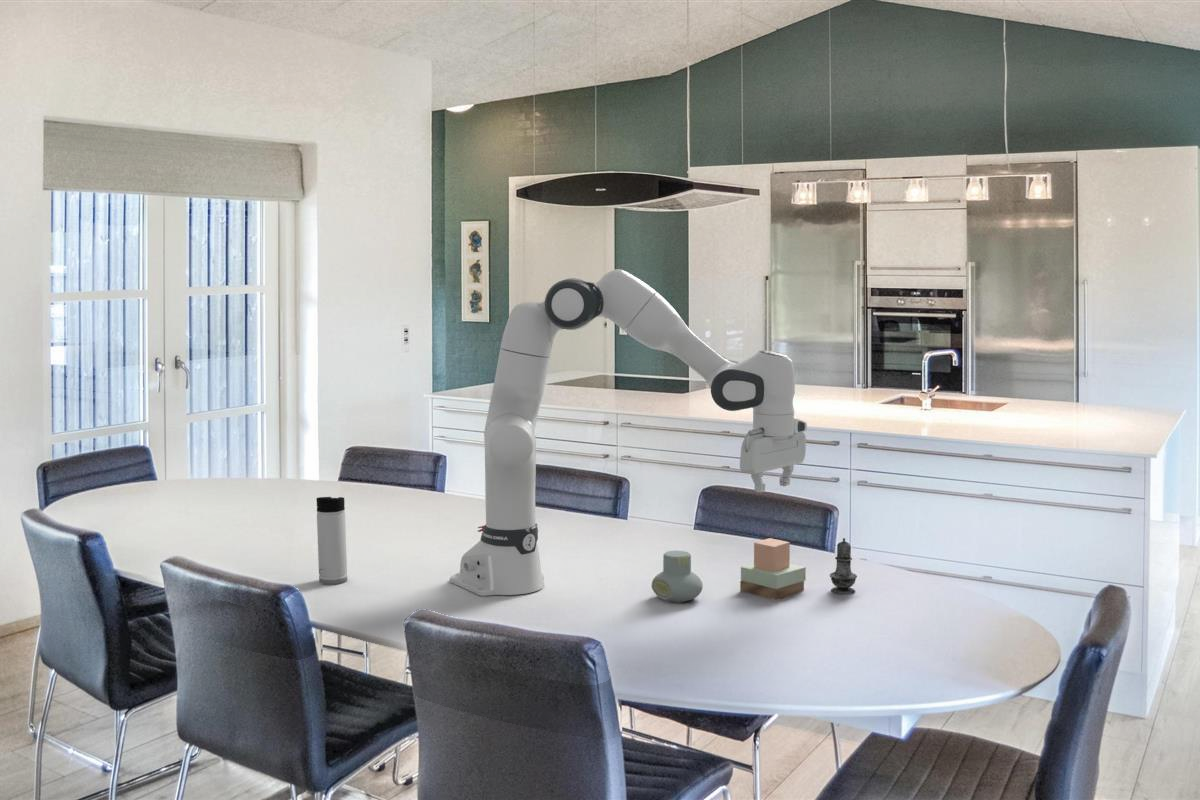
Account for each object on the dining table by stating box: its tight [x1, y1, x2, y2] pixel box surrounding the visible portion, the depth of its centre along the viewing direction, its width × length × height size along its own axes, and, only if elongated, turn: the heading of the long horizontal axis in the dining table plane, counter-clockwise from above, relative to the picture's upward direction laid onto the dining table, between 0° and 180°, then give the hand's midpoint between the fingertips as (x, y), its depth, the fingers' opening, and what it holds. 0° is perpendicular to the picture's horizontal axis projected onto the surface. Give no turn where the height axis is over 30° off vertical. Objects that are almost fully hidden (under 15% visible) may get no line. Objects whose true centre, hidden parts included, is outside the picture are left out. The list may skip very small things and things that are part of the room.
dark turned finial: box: [829, 537, 858, 596], centre depth 253 cm, size 6×6×12 cm
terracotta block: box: [753, 537, 791, 572], centre depth 253 cm, size 6×6×6 cm
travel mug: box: [316, 496, 348, 586], centre depth 263 cm, size 6×7×20 cm
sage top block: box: [740, 562, 807, 589], centre depth 254 cm, size 10×10×3 cm
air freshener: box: [651, 550, 704, 604], centre depth 248 cm, size 11×8×10 cm
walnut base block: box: [739, 580, 805, 601], centre depth 254 cm, size 10×10×3 cm
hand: (772, 488), depth 252 cm, fingers open, 8 cm apart
